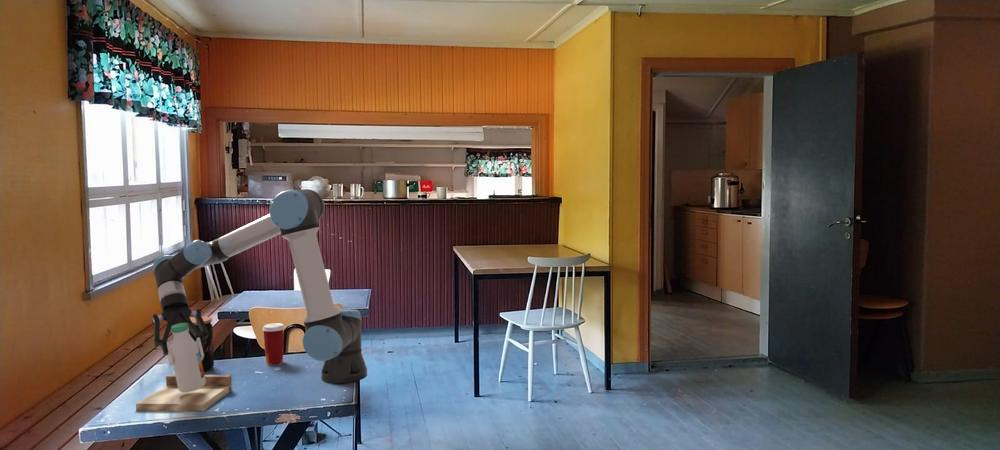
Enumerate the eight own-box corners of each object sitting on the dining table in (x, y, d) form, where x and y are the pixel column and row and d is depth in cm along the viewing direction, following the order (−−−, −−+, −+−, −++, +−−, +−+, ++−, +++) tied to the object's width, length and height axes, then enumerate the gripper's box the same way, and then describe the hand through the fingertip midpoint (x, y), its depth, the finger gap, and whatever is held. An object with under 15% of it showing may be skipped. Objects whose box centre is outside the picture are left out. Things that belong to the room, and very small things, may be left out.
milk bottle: (199, 391, 191) (185, 328, 187) (173, 394, 191) (159, 330, 187) (210, 380, 198) (198, 319, 194) (186, 382, 199) (173, 321, 195)
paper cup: (290, 361, 235) (289, 324, 234) (274, 367, 229) (273, 328, 227) (274, 359, 239) (273, 322, 238) (258, 364, 232) (257, 326, 231)
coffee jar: (200, 375, 219) (198, 323, 218) (173, 373, 221) (171, 322, 220) (220, 366, 230) (218, 316, 228) (194, 364, 232) (192, 315, 231)
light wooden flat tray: (231, 390, 204) (231, 374, 203) (203, 411, 186) (202, 394, 186) (170, 389, 205) (169, 374, 204) (136, 410, 187) (135, 393, 186)
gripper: (206, 302, 212) (221, 361, 200) (135, 310, 199) (147, 373, 188) (209, 288, 207) (225, 347, 196) (137, 295, 194) (149, 359, 183)
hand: (186, 360), depth 192 cm, fingers closed on milk bottle, 8 cm apart
